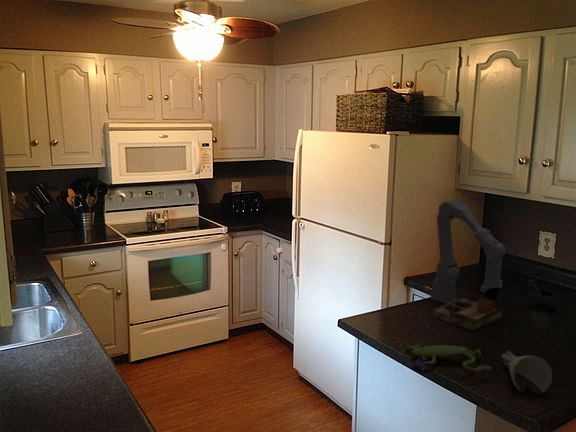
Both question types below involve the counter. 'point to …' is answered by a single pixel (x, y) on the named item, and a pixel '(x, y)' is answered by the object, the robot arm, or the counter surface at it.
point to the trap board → (466, 314)
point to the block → (485, 305)
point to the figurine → (443, 351)
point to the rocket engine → (529, 369)
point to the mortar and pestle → (540, 297)
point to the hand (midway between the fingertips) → (489, 305)
